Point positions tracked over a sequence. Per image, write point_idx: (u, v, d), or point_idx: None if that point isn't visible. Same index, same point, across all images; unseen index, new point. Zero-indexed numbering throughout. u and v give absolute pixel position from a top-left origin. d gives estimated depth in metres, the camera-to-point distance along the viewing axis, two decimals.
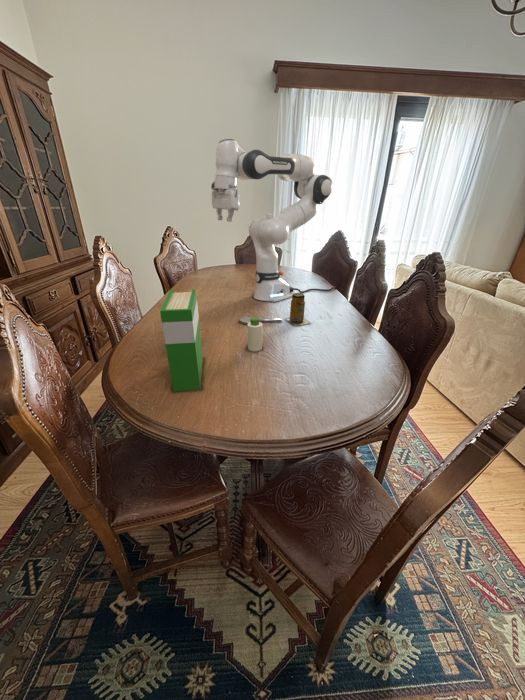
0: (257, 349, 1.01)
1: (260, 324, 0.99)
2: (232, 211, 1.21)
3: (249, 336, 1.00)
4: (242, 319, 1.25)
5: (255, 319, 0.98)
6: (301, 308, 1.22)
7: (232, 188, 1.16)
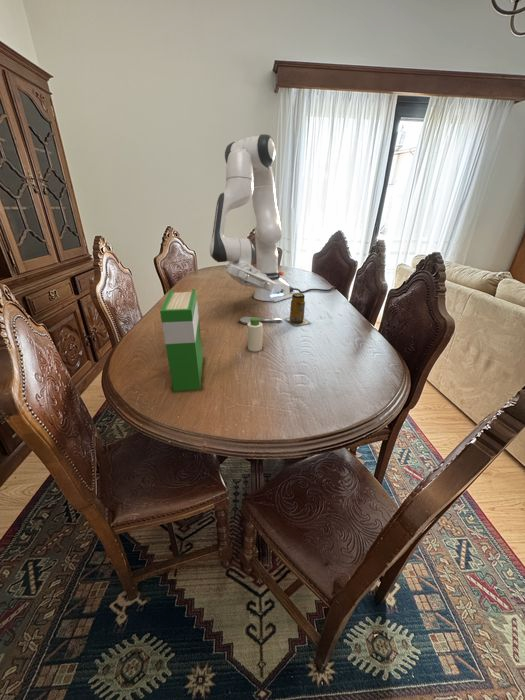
0: (257, 349, 1.01)
1: (260, 324, 0.99)
2: (239, 272, 1.07)
3: (249, 336, 1.00)
4: (242, 319, 1.25)
5: (255, 319, 0.98)
6: (301, 308, 1.22)
7: None
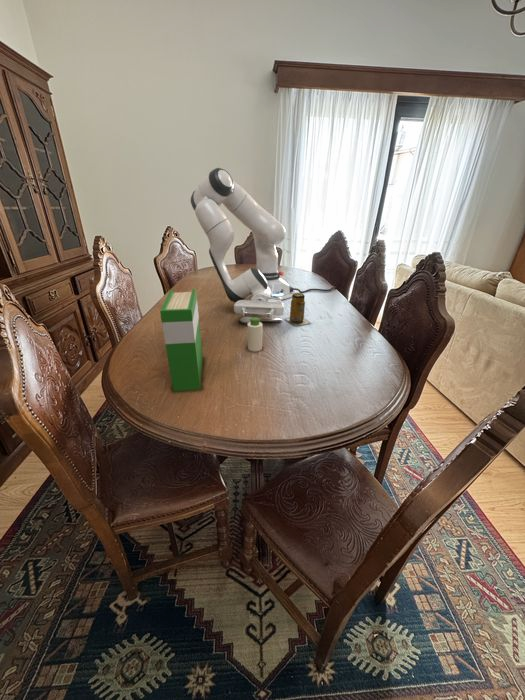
0: (257, 349, 1.01)
1: (260, 324, 0.99)
2: (241, 309, 1.14)
3: (249, 336, 1.00)
4: (242, 319, 1.25)
5: (255, 319, 0.98)
6: (301, 308, 1.22)
7: None
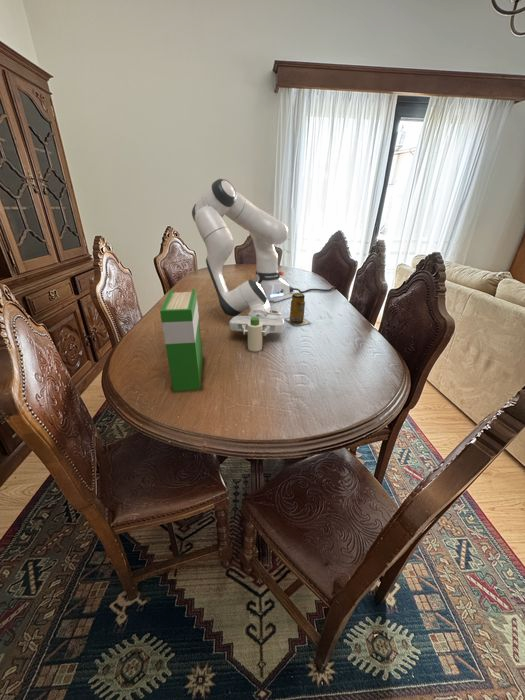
0: (257, 349, 1.01)
1: (260, 324, 0.99)
2: (242, 326, 1.04)
3: (249, 336, 1.00)
4: None
5: (255, 319, 0.98)
6: (301, 308, 1.22)
7: None
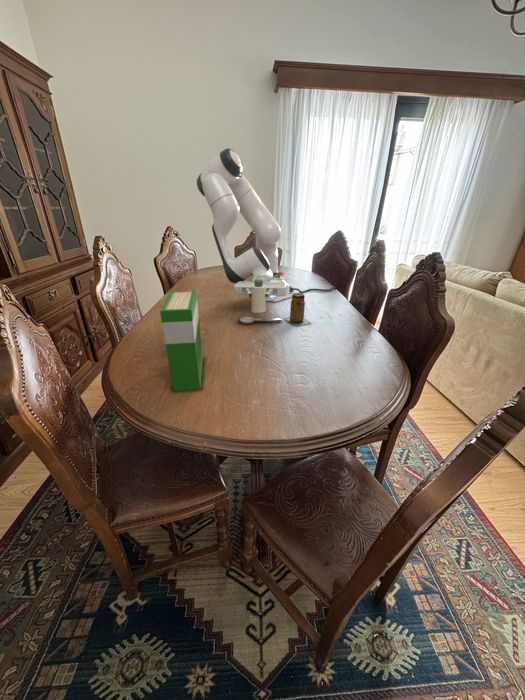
0: (261, 310, 1.06)
1: (263, 286, 1.03)
2: (246, 290, 1.08)
3: (253, 297, 1.04)
4: (242, 319, 1.25)
5: (259, 280, 1.02)
6: (301, 308, 1.22)
7: None
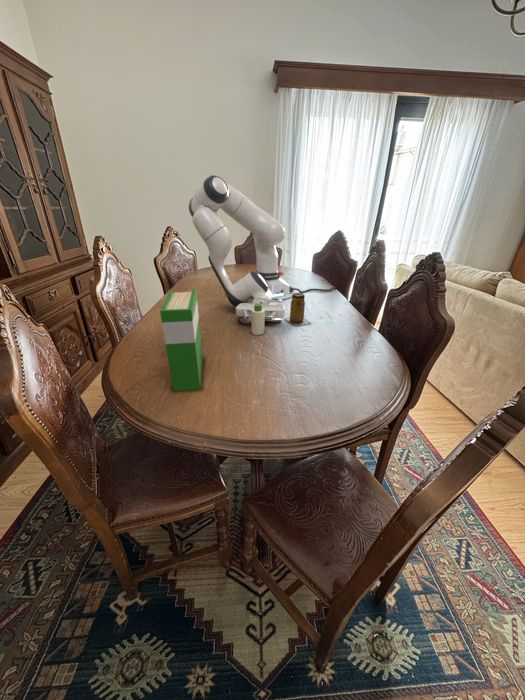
0: (260, 333, 1.14)
1: (263, 310, 1.11)
2: None
3: (253, 321, 1.12)
4: (242, 319, 1.25)
5: (258, 305, 1.10)
6: (301, 308, 1.22)
7: None
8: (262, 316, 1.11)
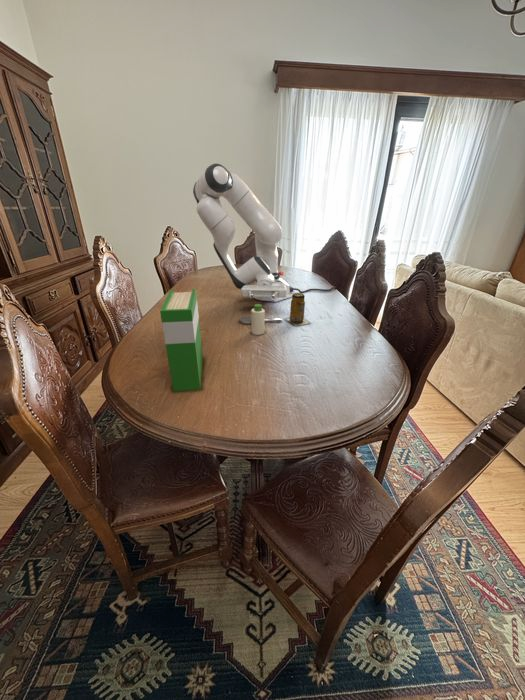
0: (260, 333, 1.14)
1: (263, 310, 1.11)
2: None
3: (253, 321, 1.12)
4: (242, 319, 1.25)
5: (258, 305, 1.10)
6: (301, 308, 1.22)
7: None
8: (262, 316, 1.11)
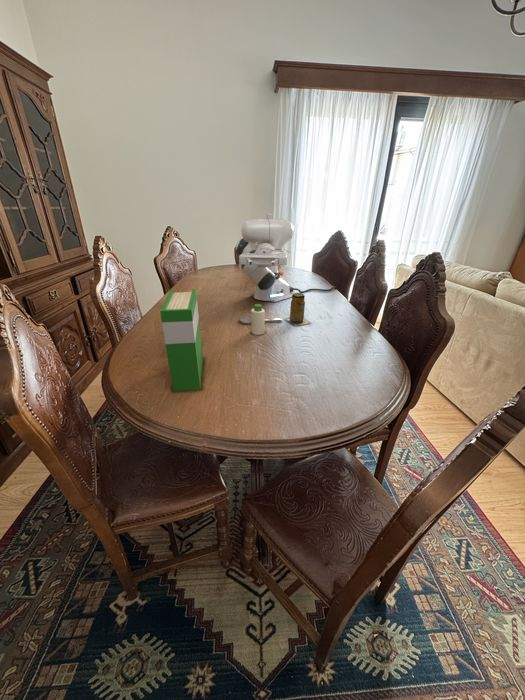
0: (260, 333, 1.14)
1: (263, 310, 1.11)
2: (246, 259, 1.19)
3: (253, 321, 1.12)
4: (242, 319, 1.25)
5: (258, 305, 1.10)
6: (301, 308, 1.22)
7: None
8: (262, 316, 1.11)
